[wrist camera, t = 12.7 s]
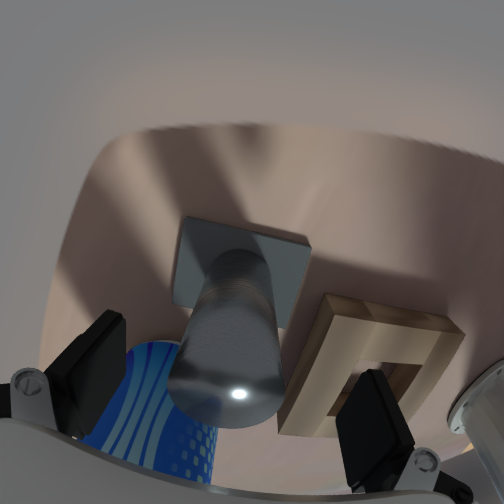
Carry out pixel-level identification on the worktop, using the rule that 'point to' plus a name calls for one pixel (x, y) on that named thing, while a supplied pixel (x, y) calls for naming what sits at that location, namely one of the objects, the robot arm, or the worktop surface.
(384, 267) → the worktop surface
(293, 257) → the mat
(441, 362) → the pocket block
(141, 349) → the beer can
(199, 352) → the rod
